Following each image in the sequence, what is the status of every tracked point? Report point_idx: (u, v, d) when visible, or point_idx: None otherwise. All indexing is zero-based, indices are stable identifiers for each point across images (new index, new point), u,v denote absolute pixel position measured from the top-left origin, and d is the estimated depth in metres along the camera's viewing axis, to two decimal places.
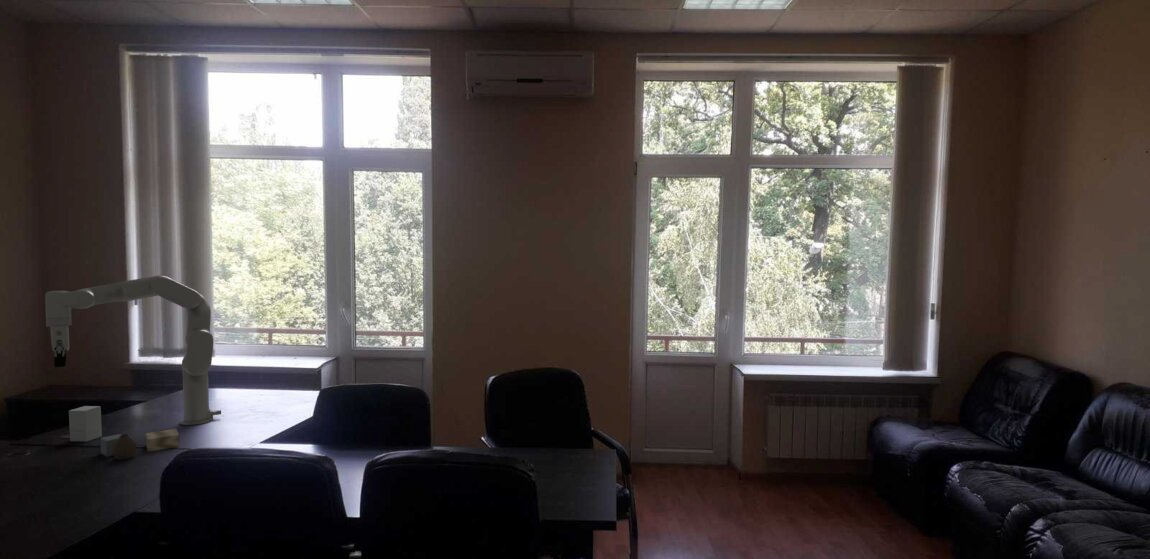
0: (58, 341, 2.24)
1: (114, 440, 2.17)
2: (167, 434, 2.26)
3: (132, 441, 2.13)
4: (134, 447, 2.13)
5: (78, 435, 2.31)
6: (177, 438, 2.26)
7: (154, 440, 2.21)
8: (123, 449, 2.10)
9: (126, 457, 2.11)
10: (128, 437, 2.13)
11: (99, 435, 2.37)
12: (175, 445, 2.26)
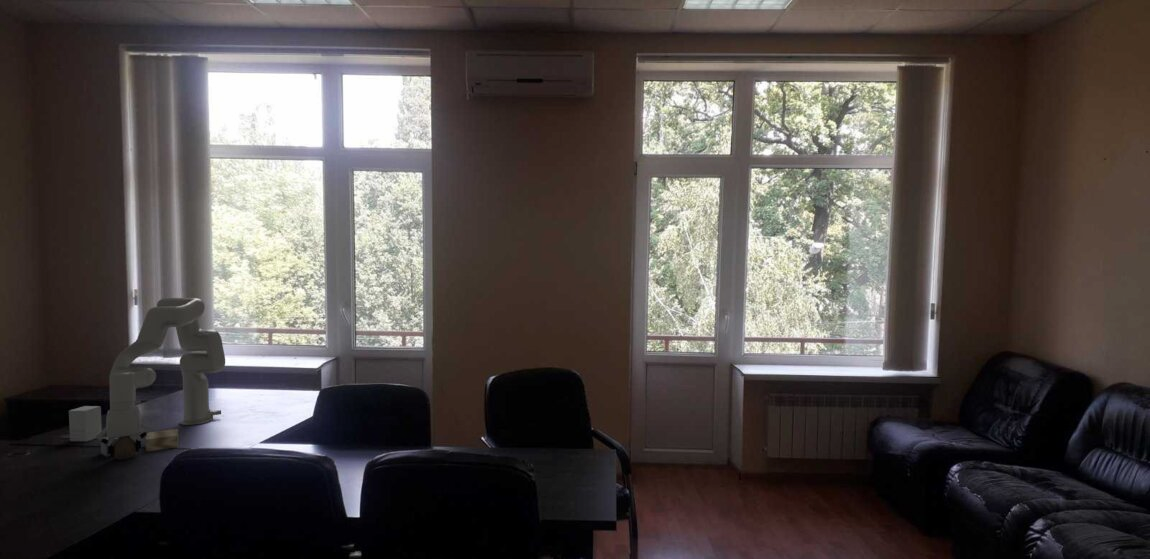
0: (141, 423, 2.16)
1: (114, 440, 2.17)
2: (166, 434, 2.26)
3: (132, 441, 2.13)
4: (134, 447, 2.13)
5: (78, 435, 2.31)
6: (175, 439, 2.25)
7: (152, 440, 2.21)
8: (123, 449, 2.10)
9: (126, 456, 2.11)
10: (128, 437, 2.13)
11: None
12: (173, 446, 2.25)
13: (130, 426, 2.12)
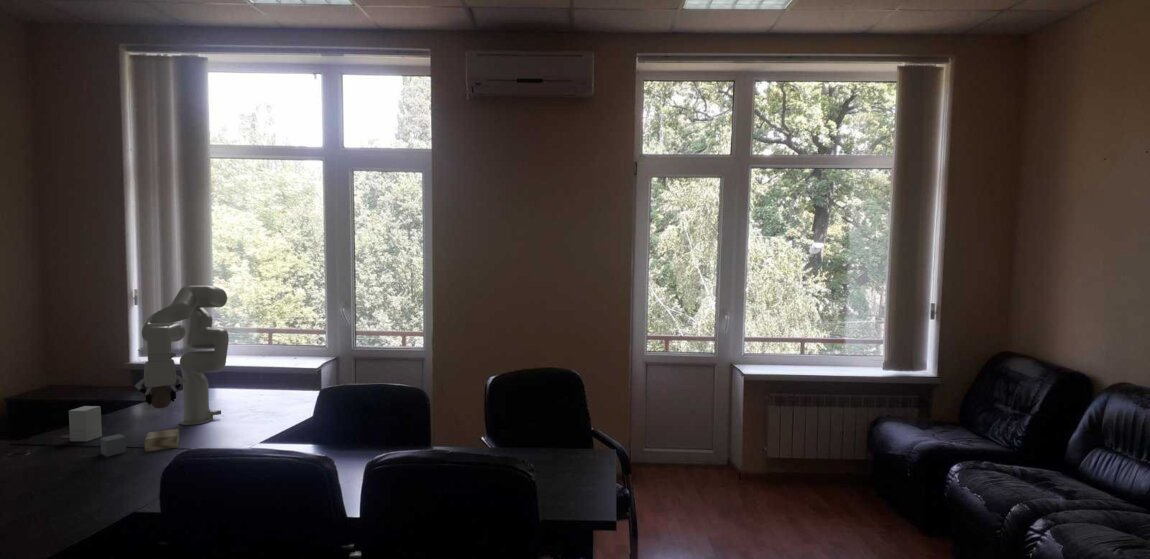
0: None
1: (114, 440, 2.17)
2: (166, 434, 2.26)
3: (168, 391, 2.26)
4: (170, 397, 2.27)
5: (78, 435, 2.31)
6: (174, 439, 2.25)
7: (151, 440, 2.21)
8: (160, 398, 2.23)
9: (163, 405, 2.25)
10: (164, 387, 2.26)
11: (99, 435, 2.37)
12: (172, 446, 2.25)
13: (166, 377, 2.25)
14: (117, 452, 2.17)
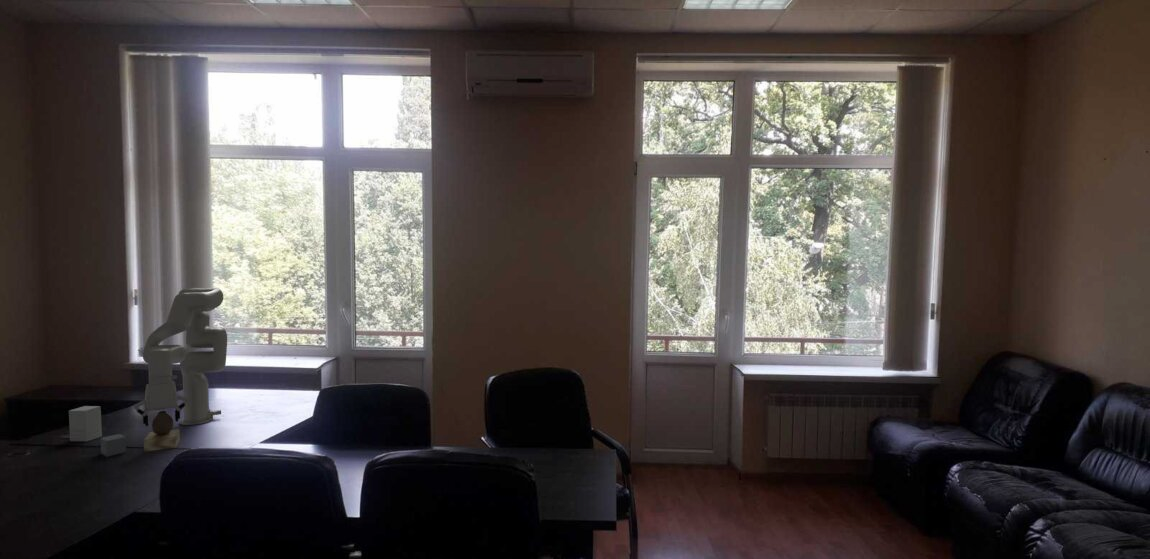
0: (177, 395, 2.29)
1: (114, 440, 2.17)
2: (165, 435, 2.26)
3: (169, 418, 2.27)
4: (171, 424, 2.27)
5: (78, 435, 2.31)
6: (173, 439, 2.24)
7: (150, 440, 2.21)
8: (161, 425, 2.24)
9: (164, 432, 2.25)
10: (165, 414, 2.26)
11: (99, 435, 2.37)
12: (171, 446, 2.24)
13: (167, 399, 2.26)
14: (117, 452, 2.17)
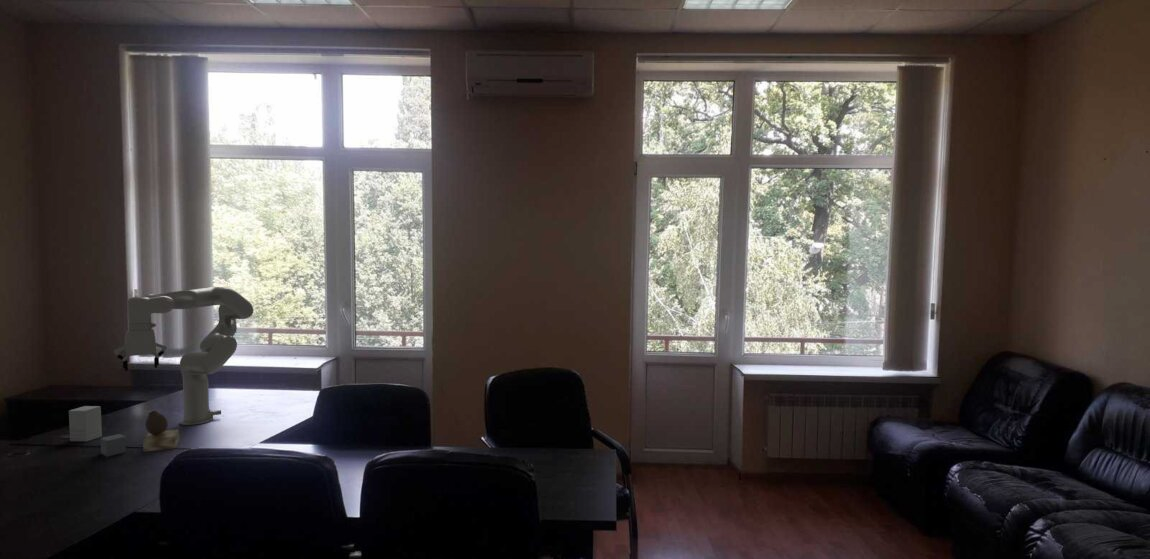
0: (156, 343, 2.39)
1: (114, 440, 2.17)
2: (165, 435, 2.25)
3: (154, 419, 2.23)
4: (156, 425, 2.23)
5: (78, 435, 2.31)
6: (173, 440, 2.24)
7: (150, 441, 2.21)
8: (146, 426, 2.23)
9: (152, 433, 2.23)
10: (152, 415, 2.24)
11: (99, 435, 2.37)
12: (171, 447, 2.24)
13: (146, 346, 2.35)
14: (117, 452, 2.17)
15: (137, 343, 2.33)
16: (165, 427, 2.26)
